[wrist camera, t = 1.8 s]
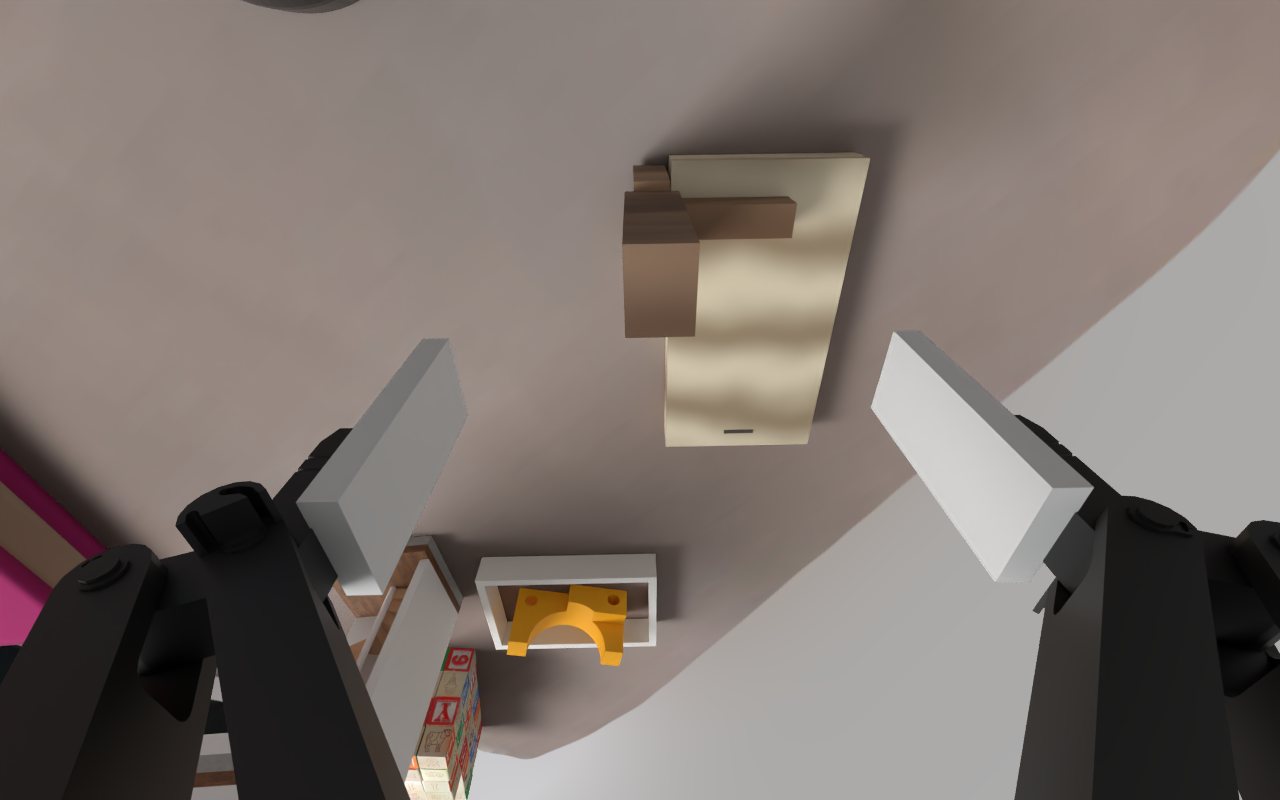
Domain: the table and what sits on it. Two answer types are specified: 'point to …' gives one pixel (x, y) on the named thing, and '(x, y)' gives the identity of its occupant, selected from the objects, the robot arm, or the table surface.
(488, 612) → the clamp rest frame
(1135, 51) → the table surface
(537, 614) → the pipe clamp
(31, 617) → the book
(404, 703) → the white column with cutout
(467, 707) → the stack of blocks
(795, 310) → the pine board
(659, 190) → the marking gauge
